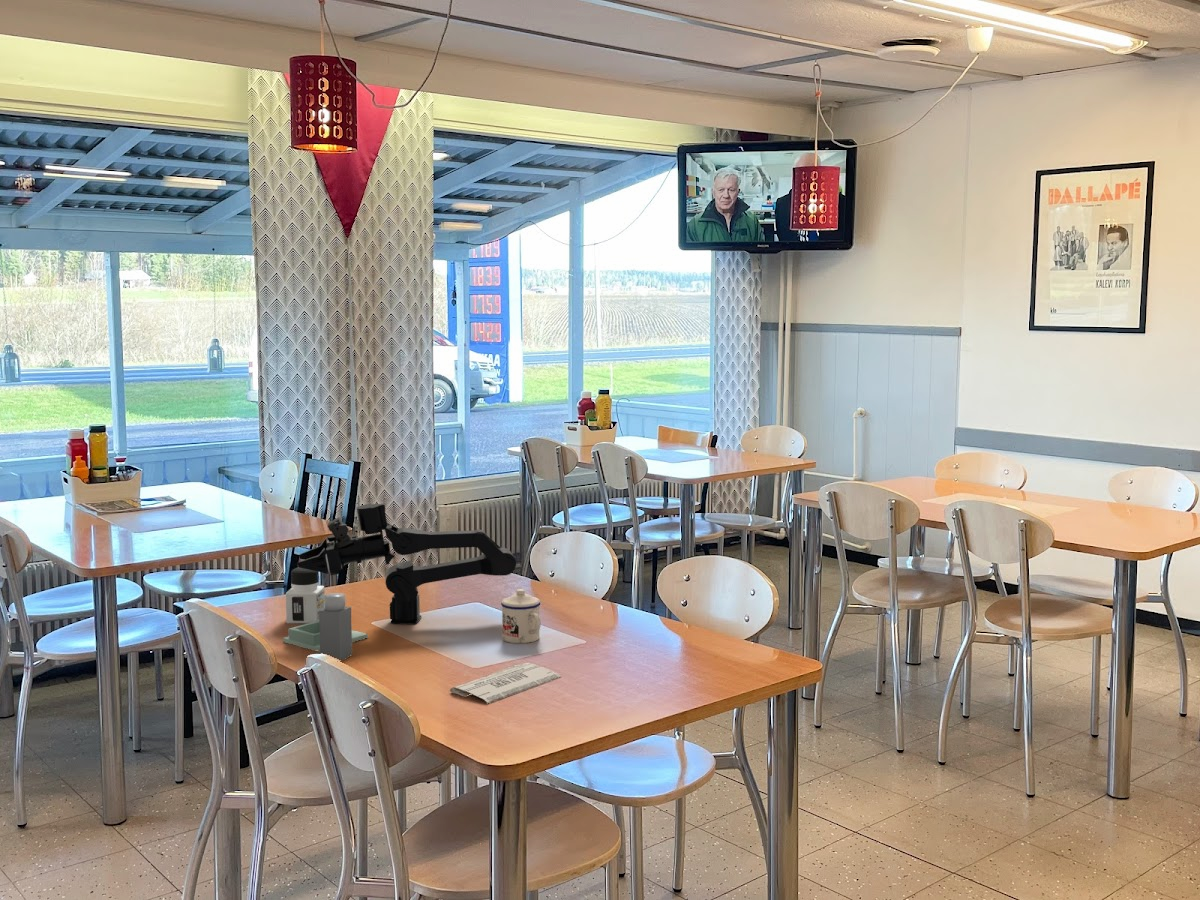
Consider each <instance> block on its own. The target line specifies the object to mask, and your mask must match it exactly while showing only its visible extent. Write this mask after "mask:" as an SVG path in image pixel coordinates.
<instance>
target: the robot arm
mask: <svg viewBox="0 0 1200 900" xmlns="http://www.w3.org/2000/svg"><path fill="white" fill-rule="evenodd" d="M355 508H356V513H357V519H358V524H359V530H360V531H361V532H364V533H365V536H361V537H360V536H359V537H358V535H351V534H350V532H349V531H350V529H349V527H348V526H347V524H346V523H344V522H343V520H342V519H341V517H340V516H338V517H336V518H335V519H333V520H331V521H329V522H327V528H328V530H329V531H330V532H331V533H332V534H330V535H327V537H324V539H323V541H322V542H321V544H320V545H318V546H316V547H314V548H310V549H309V550H306V551H304V552H302V553H300V554H299V555H298V557H299V558H298V559H300V560H301V561H298V562H297V563H296V565H297V568H298V567H299V568H304V569H309V570H313V571H318V573H322V574H326V575H330V576H335V575H339V574H340V572H341V571H342V570H343V567H345V565H348V564H352V563H357V564H362V562H364V561H369V560H375V559H379V558H384V561H385V565H389V564H390V562H391V561H392V560H393V559H394V558H395V553H396V554H398V555H400V556H407V555H412V554H417V553H420V552H423V551H427V550H432V549H435V550H436V549H460V548H462V549H463V548H477V549H478V550H479V551H480V552H481V553H482V554H480V555H479V556H477V557H471V558H464V559H459V560H458V559H457V560H454V561H452V560H451V561H448V562H447V561H446V562H442V563H441V562H440V563H437V564H436V563H434V564H430V565H424V566H418V565H414V564H413V560H408V561H405V562H395V565H391V566H389V568H388V569H387V570H386V572H385V575H384V581H385V582H384V583H385V586H386V589H387V590H388V591H389V592H391V593H392V594H393V596H392V597H391V601H390V603H389V619H390V624H400V625H406V624H407V625H408V624H409V625H417V624H418V623H419V621H420V620H421V619H420V618H422V615H421V614H420V613H421V612H420V608H421V605H420V594H419V590H418V587H419V586H422V585H424V584H429V583H435V582H441V581H446V580H447V581H448V580H454V579H459V578H464V577H470V576H477V575H487V576H499V577H500V576H508V575H511V574H512V573H513V572H514V571H515V570H516V567H517V560H516V558H515V556H514V554H513V553H512V552H511V550H510V549H508V548H507V547H501V546H500V545H499V544H497V543H496V542H495V541H494V540H493V539H492V538H491V537H489V536H488V535H487V533H486V532H485V530H482V529H479V528H477V529H474V530H452V531H450V530H449V531H448V530H447V531H425V530H420V529H417V528H410V527H397V526H395V525H392V524H390V523H388V520H387V515H386V504H385V503H367V504H363V505H358V506H357V507H355ZM383 530H384V531H385V536H386V538H387V539H388V540H389V541H388V540H384V538H385V537H384V533H383ZM390 543H391V547H392V549H393V551H394V552H395V553H393V552H392V551H391V547H390Z"/></svg>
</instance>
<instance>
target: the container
mask: <svg viewBox="0 0 1200 900" xmlns="http://www.w3.org/2000/svg"><path fill="white" fill-rule="evenodd" d="M319 580H320V579H319V572H318V571H313V570H309V569H304V568H299V567H298V566H297V567H295V568H293V569H292V570H291V572H290V582H291V583H290V584H291V585H290V586H291V588H290V589H288V590H287V592H286V593H285V618H286V620H285V621H286V624H308V623H312V622H316V621H319V610H322V609H324V608H325V598H324V596H325V595H326V593H325V591H326V590H325V586H324V585H319V582H320V581H319Z"/></svg>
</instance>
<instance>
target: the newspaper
mask: <svg viewBox="0 0 1200 900" xmlns="http://www.w3.org/2000/svg"><path fill="white" fill-rule="evenodd" d="M559 677H560V678H562V675H560V674H559V673H558V672H556V671H553V670H552V669H548V668H547V667H543V666H541V665H538V664H535V663H531V662H524V663H521V664H515V665H511V666H509V667H506V668H504V669H501V670H499V671H495V672H493V673H491V674H488V675H485V676H483V677H479V678H477V679H474V680H471V681H468V682H466V683H462V684H459V685H455V686H453V687H451V688H450V689H449V690H450V693H452V694H456V695H459V696H461V697H463V696H467V695H469V694H473V695H472V696H476V697H478V698H480V699H482V700H484V701H485V702H486V705H489V704H488V703H490V704H492V703H495V702H497V700H498V701H500V700H503V699H506V698H508V696H509V697H511V696H513V695H516V693H517V694H520V693H522V692H525V691H527V690H529V689H530V690H531V689H533V688H536V687H538V686H541V685H544V684H546V683H545V682H547V683H550V682H552V681H554V679H555V680H557V679H559ZM551 680H552V681H551ZM543 683H544V684H543ZM540 684H541V685H540ZM535 686H536V687H535ZM502 698H503V699H502ZM499 699H500V700H499ZM494 701H495V702H494ZM491 702H492V703H491Z"/></svg>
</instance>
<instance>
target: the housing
mask: <svg viewBox="0 0 1200 900" xmlns="http://www.w3.org/2000/svg"><path fill="white" fill-rule="evenodd" d="M287 630H288V636H285V637H284V636H283V638H282V639H283V643H285V644H286V643H287V644H289V645H292V644H293V645H294V646H295V647H296V646H297V647H301V648H303V649H307V648H308V649H307V650H310V649H312V651H314V650H318V651H316V652H317V653H320V630H319V621H316V622H312V623H303V624H301V625H297V626H294V627H291V628H288V629H287ZM368 637H369V634H368V633H366V632H362V631H361V632H360V631H356V630H353V629H352V642H353V643H356V642H355V641H357V642H359V641H358V640H360V641H362V640H361V639H363V640H366V639H365V638H367V639H369V638H368ZM293 645H292V646H293Z"/></svg>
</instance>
